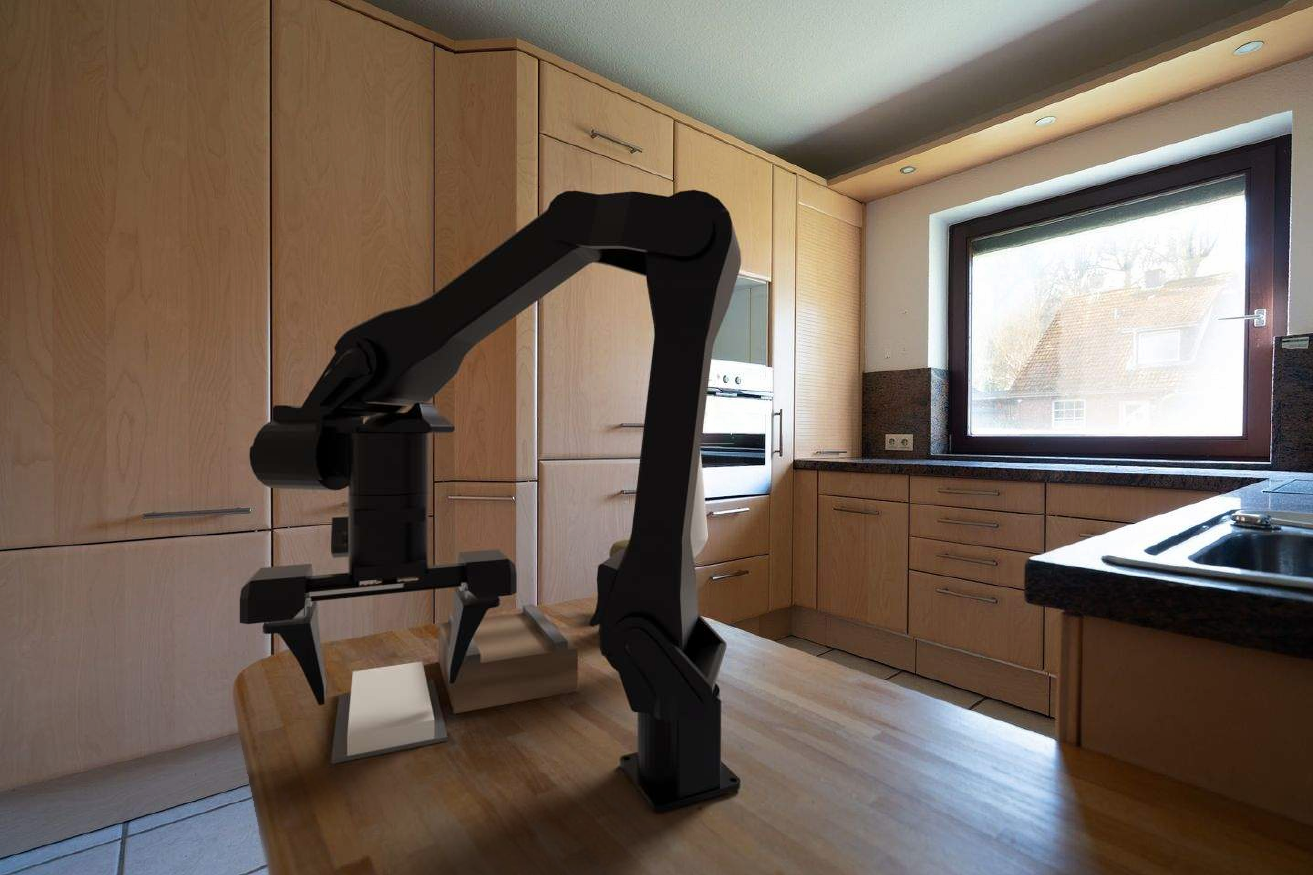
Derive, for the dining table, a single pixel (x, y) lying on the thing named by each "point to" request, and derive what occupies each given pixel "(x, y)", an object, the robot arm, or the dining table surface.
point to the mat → (341, 748)
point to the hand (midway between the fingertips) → (389, 691)
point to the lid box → (510, 661)
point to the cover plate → (389, 708)
